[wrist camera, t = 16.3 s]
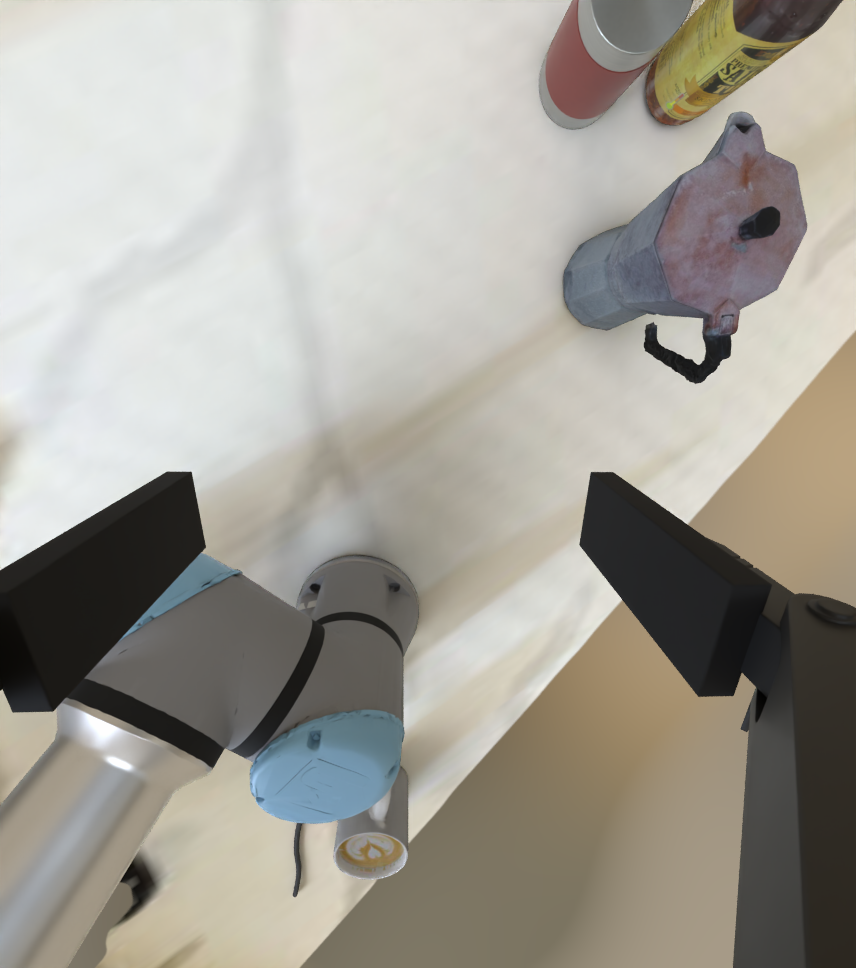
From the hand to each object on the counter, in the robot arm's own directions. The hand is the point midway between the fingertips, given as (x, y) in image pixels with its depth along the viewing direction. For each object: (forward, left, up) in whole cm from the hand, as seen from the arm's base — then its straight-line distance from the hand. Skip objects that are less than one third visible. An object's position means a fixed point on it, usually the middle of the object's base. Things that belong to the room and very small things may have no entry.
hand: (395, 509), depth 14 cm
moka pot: (+10, -20, -33) cm, 40 cm away
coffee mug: (-59, +4, -33) cm, 68 cm away
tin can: (+26, -15, -33) cm, 44 cm away
